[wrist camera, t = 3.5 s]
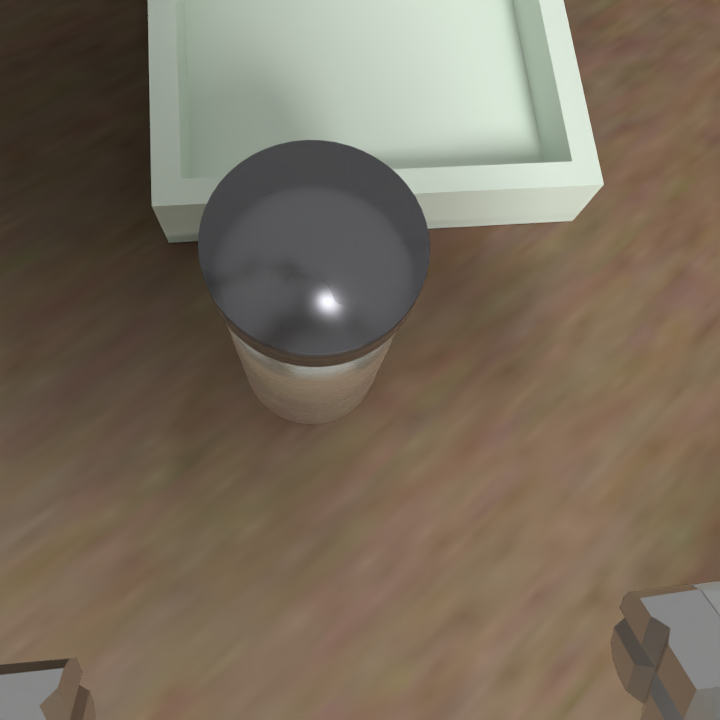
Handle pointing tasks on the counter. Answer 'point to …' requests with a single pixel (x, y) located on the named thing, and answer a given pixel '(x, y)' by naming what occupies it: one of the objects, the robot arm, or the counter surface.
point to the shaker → (313, 271)
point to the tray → (375, 101)
